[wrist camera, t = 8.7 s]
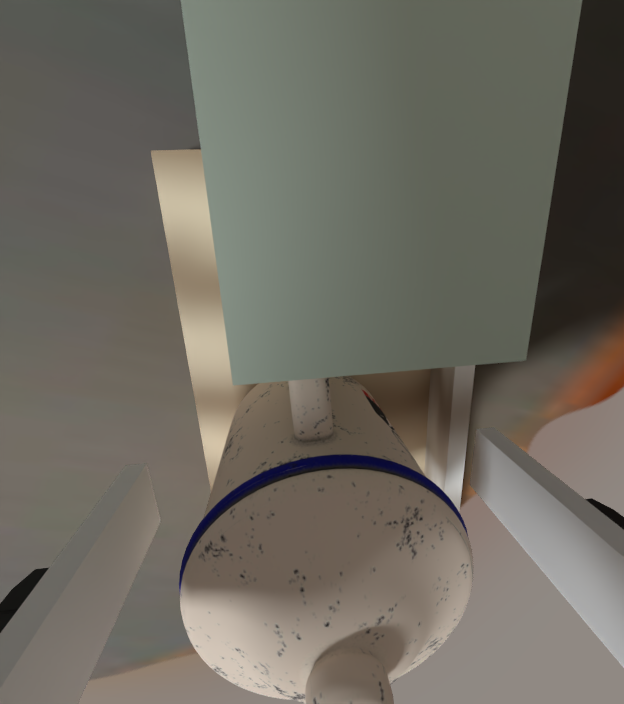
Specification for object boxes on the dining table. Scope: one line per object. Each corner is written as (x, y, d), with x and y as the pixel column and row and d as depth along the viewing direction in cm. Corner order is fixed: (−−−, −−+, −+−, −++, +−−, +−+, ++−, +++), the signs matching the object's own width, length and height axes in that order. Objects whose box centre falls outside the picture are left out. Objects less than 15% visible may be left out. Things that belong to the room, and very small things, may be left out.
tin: (248, 173, 14) (177, -22, 4) (383, 168, 14) (593, -15, 5) (261, 307, 16) (232, 385, 6) (382, 300, 16) (532, 360, 6)
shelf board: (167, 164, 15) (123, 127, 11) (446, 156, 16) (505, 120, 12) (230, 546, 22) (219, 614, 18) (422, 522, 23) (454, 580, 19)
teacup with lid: (385, 488, 19) (526, 794, 8) (239, 509, 19) (183, 871, 8) (382, 296, 16) (622, 387, 5) (201, 314, 15) (-5, 467, 4)
